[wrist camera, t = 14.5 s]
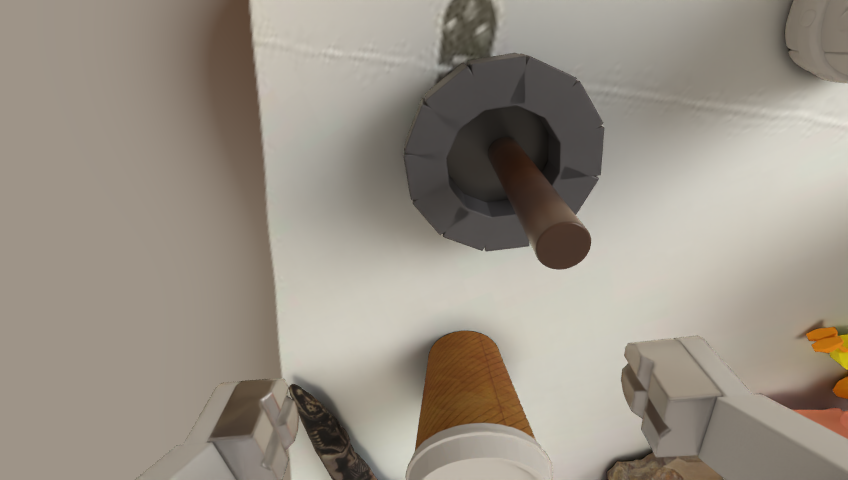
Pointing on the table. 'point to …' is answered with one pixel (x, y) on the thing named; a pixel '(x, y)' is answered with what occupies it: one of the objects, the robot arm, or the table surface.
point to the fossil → (663, 469)
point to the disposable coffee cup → (473, 418)
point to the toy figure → (833, 352)
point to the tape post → (518, 181)
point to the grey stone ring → (490, 89)
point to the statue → (329, 439)
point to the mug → (819, 37)
